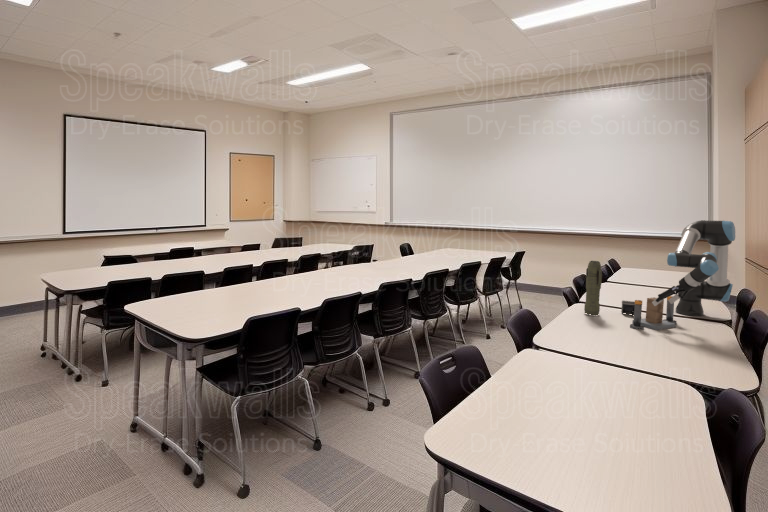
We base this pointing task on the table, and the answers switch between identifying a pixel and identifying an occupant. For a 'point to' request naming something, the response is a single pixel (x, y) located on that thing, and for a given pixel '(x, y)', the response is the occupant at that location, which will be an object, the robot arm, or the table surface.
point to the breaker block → (654, 311)
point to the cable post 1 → (637, 315)
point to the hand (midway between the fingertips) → (661, 303)
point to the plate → (657, 325)
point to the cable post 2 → (670, 311)
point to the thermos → (593, 287)
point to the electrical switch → (628, 307)
